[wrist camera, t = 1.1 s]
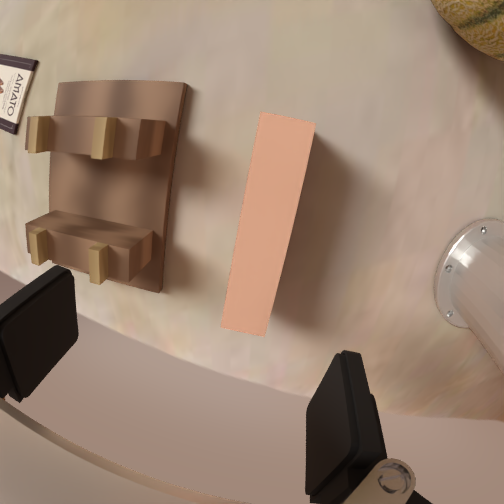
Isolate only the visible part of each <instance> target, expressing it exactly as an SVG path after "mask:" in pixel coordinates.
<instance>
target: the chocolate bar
mask: <svg viewBox="0 0 504 504" xmlns="http://www.w3.org/2000/svg"><path fill="white" fill-rule="evenodd" d="M37 62H38V61H37V60H32V59H27V58H21V57H15V56H9V55H3V54H0V129H3V130H5V131H7V132H9V133H11V134H16V133H17V128H18V124H19V120H20V116H21V113H22V109H23V105H24V102H25V98H26V95H27V92H28V88H29V85H30V82H31V79H32V76H33V73H34V71H35V68H36V65H37Z"/></svg>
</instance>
